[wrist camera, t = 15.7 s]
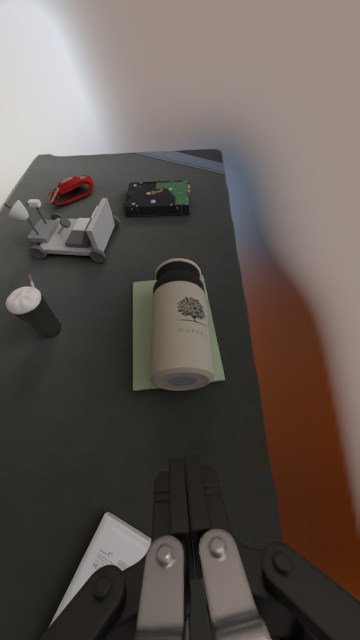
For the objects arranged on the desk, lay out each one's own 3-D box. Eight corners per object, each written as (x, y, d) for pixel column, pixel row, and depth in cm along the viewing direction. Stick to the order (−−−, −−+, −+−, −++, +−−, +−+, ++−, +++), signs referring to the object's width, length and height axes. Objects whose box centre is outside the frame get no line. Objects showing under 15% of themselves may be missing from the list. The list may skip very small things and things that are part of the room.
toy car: (-11, 215, 42) (20, 179, 48) (22, 258, 50) (45, 222, 57) (89, 219, 40) (109, 181, 47) (107, 263, 49) (121, 226, 55)
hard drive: (29, 673, 22) (108, 511, 27) (107, 745, 19) (174, 553, 25) (18, 686, 20) (104, 512, 26) (101, 766, 18) (173, 557, 24)
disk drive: (126, 218, 57) (191, 215, 56) (123, 207, 54) (190, 203, 54) (131, 193, 62) (189, 190, 62) (128, 182, 60) (189, 178, 59)
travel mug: (146, 390, 33) (150, 287, 43) (203, 392, 35) (194, 292, 44) (154, 368, 26) (157, 253, 36) (224, 372, 28) (208, 260, 38)
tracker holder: (55, 180, 64) (89, 166, 63) (66, 197, 67) (98, 185, 66) (39, 195, 56) (78, 180, 54) (51, 214, 59) (89, 200, 57)
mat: (224, 380, 35) (225, 379, 35) (133, 391, 35) (132, 390, 34) (203, 276, 46) (203, 275, 45) (133, 284, 45) (132, 282, 45)
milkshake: (73, 317, 42) (43, 277, 33) (55, 344, 39) (18, 308, 31) (50, 311, 43) (16, 270, 34) (31, 337, 40) (-11, 300, 32)
